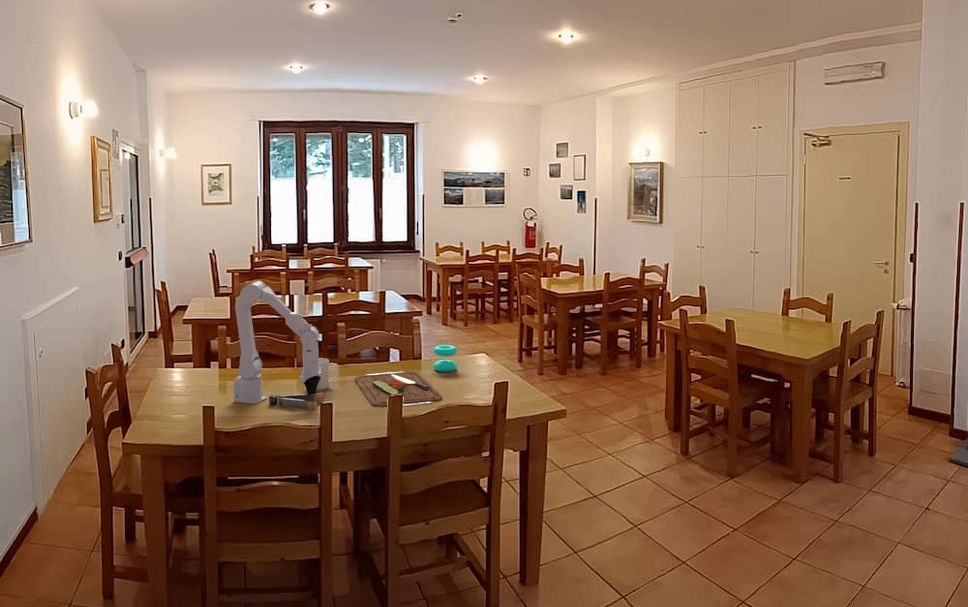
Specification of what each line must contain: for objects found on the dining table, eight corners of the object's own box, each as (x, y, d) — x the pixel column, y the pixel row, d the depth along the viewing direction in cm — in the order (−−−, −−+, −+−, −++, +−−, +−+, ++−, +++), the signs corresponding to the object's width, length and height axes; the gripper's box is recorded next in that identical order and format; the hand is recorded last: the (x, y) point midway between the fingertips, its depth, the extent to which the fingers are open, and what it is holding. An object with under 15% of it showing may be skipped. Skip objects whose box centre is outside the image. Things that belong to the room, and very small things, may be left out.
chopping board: (352, 377, 310) (352, 370, 310) (415, 372, 319) (415, 365, 319) (374, 410, 268) (374, 402, 268) (446, 403, 277) (446, 395, 277)
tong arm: (278, 405, 271) (278, 397, 271) (278, 402, 274) (278, 394, 273) (323, 402, 275) (322, 394, 274) (322, 399, 277) (322, 392, 277)
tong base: (267, 405, 272) (267, 397, 271) (272, 402, 275) (271, 394, 274) (315, 410, 267) (314, 402, 266) (319, 407, 270) (318, 399, 269)
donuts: (458, 349, 317) (435, 350, 315) (458, 372, 319) (435, 373, 317) (455, 343, 327) (432, 344, 325) (455, 366, 328) (432, 366, 327)
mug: (305, 392, 288) (304, 363, 286) (307, 385, 297) (306, 358, 295) (337, 390, 290) (336, 362, 288) (337, 384, 299) (337, 357, 297)
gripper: (310, 366, 267) (312, 402, 269) (329, 356, 281) (330, 391, 283) (293, 364, 269) (294, 401, 271) (312, 355, 283) (313, 389, 285)
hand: (311, 396), depth 277 cm, fingers closed
